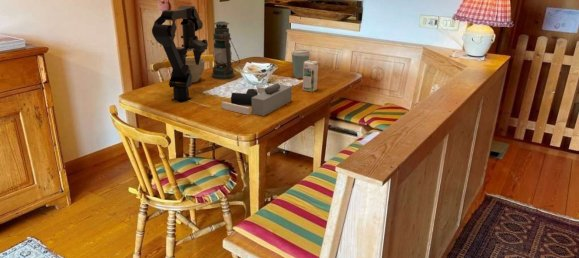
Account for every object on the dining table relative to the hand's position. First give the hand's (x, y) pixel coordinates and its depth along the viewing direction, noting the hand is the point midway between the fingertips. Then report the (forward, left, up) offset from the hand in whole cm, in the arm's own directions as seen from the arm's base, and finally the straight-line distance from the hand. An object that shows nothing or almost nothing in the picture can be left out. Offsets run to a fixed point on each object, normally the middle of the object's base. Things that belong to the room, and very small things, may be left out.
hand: (190, 66), depth 204 cm
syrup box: (+36, -46, -13) cm, 60 cm away
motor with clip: (+3, -37, -12) cm, 39 cm away
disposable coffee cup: (+55, -30, -13) cm, 64 cm away
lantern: (+32, +5, -13) cm, 35 cm away
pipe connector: (+3, -32, -13) cm, 34 cm away
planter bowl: (+14, +14, -13) cm, 24 cm away
